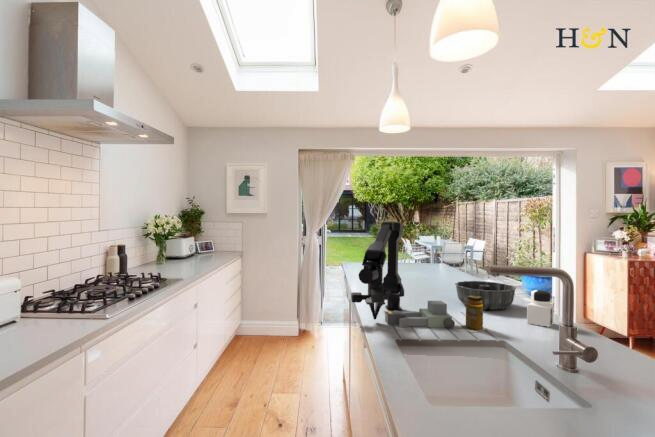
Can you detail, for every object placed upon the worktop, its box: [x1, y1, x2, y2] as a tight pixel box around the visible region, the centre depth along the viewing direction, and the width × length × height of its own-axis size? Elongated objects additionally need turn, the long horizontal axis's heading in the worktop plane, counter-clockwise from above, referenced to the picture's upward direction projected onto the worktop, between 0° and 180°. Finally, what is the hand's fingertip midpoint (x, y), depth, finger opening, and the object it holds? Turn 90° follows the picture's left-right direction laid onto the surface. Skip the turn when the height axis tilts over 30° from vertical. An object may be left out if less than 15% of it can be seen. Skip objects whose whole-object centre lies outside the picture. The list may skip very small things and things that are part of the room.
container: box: [526, 289, 555, 327], centre depth 138 cm, size 8×8×13 cm
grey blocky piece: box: [398, 300, 456, 329], centre depth 137 cm, size 15×20×8 cm
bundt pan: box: [454, 280, 517, 311], centre depth 165 cm, size 26×26×10 cm
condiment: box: [457, 295, 489, 333], centre depth 131 cm, size 7×8×12 cm
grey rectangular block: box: [384, 310, 406, 325], centre depth 137 cm, size 4×7×4 cm, turn 94°
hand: (374, 319), depth 137 cm, fingers closed
